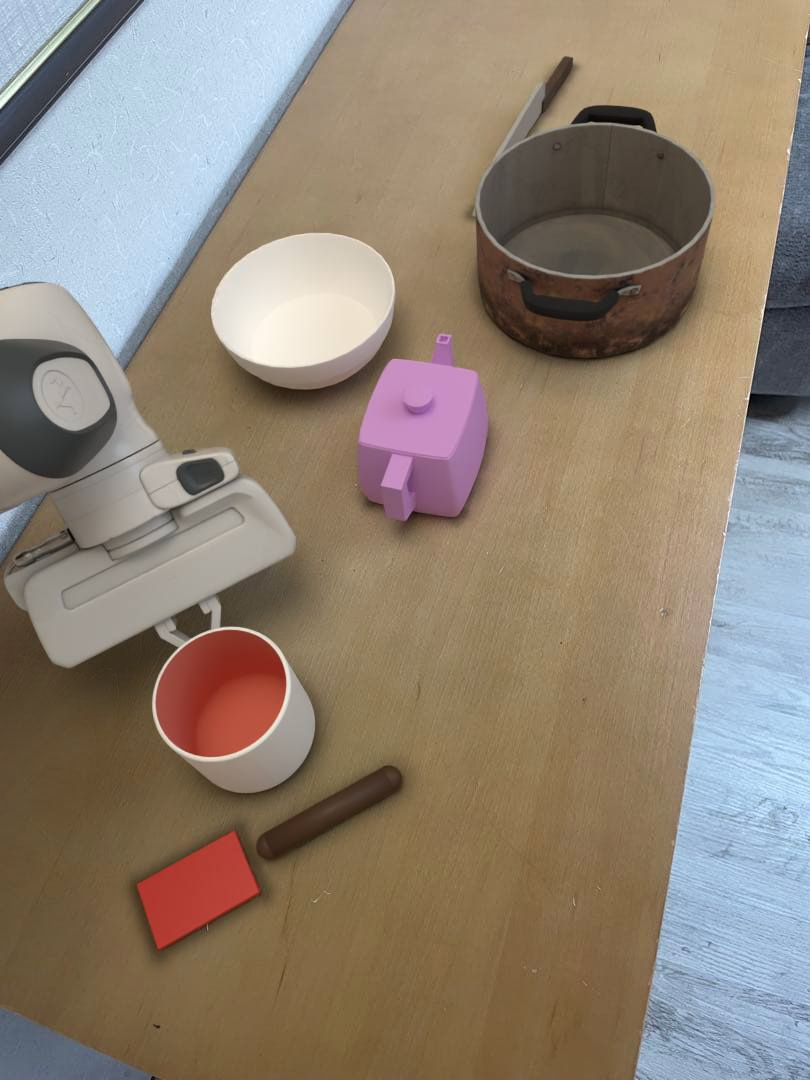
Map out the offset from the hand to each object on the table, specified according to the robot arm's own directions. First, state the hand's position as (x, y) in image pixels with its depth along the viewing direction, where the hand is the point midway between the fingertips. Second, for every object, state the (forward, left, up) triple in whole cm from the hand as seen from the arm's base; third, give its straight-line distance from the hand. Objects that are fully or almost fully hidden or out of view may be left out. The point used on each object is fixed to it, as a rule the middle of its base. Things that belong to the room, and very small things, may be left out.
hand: (211, 656), depth 67 cm
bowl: (+22, +30, -5) cm, 37 cm away
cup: (0, -6, -5) cm, 8 cm away
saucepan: (+50, +22, -5) cm, 55 cm away
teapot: (+25, +11, -5) cm, 28 cm away
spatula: (-2, -14, -5) cm, 15 cm away
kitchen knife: (+58, +47, -5) cm, 75 cm away
